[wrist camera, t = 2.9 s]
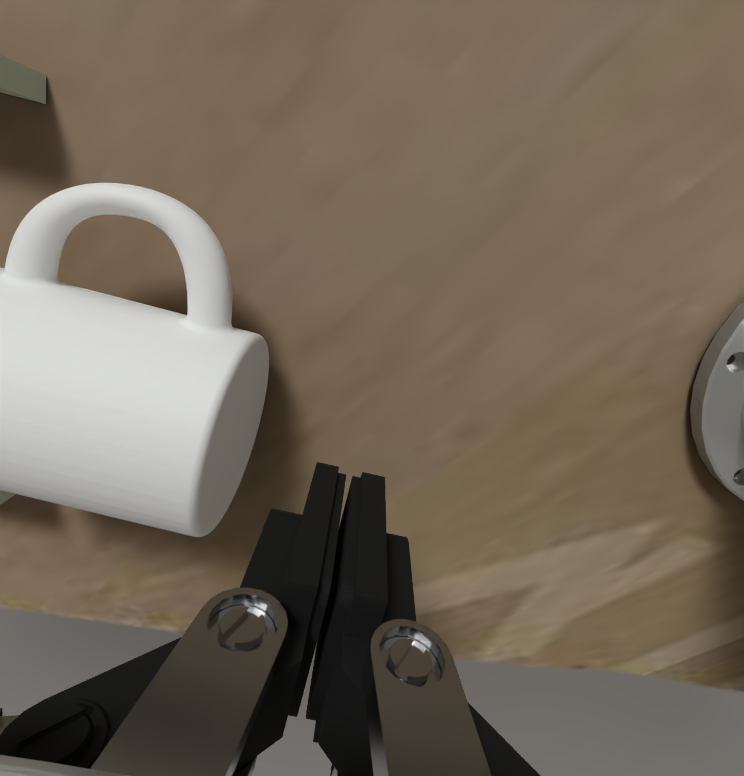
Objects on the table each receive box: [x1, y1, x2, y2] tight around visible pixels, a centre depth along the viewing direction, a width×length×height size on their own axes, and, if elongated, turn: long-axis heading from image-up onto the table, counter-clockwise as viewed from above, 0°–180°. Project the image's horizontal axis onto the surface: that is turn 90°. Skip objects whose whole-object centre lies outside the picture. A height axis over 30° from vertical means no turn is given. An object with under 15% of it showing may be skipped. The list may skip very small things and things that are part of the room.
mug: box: [0, 183, 269, 537], centre depth 17 cm, size 12×10×8 cm
